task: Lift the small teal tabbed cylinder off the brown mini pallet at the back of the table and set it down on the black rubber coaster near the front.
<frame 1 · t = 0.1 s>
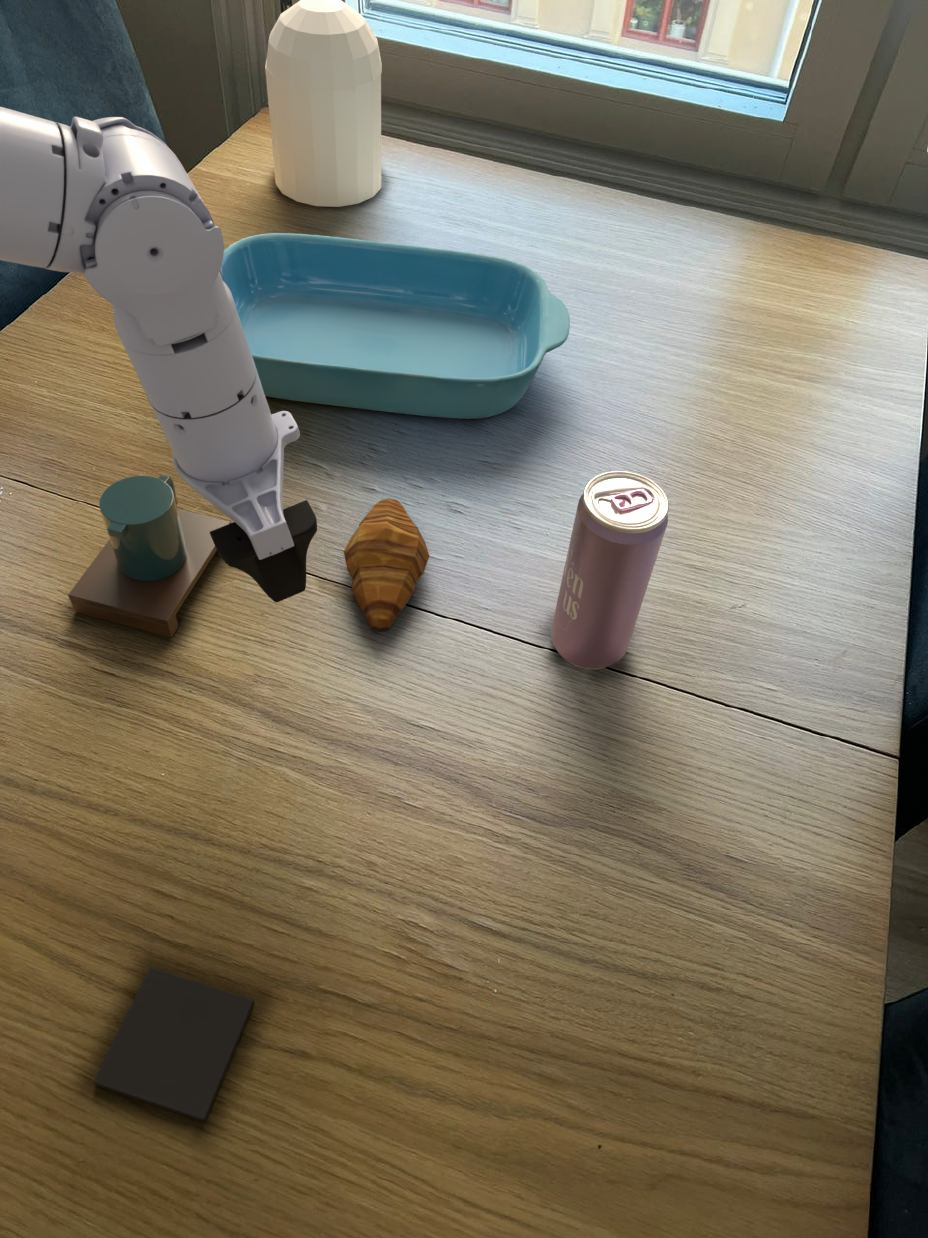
hand: (268, 551, 59), 12 cm above the table, tool pointing down, fingers open, 7 cm apart
teal tabbed cylinder: (152, 556, 72), point 2 cm above the table, touching brown mini pallet
croissant: (386, 574, 75), on the table
container: (329, 182, 117), on the table
coaster: (177, 1042, 52), on the table
beverage can: (587, 644, 72), on the table
brown mini pallet: (157, 574, 74), on the table
casserole dish: (377, 362, 94), on the table
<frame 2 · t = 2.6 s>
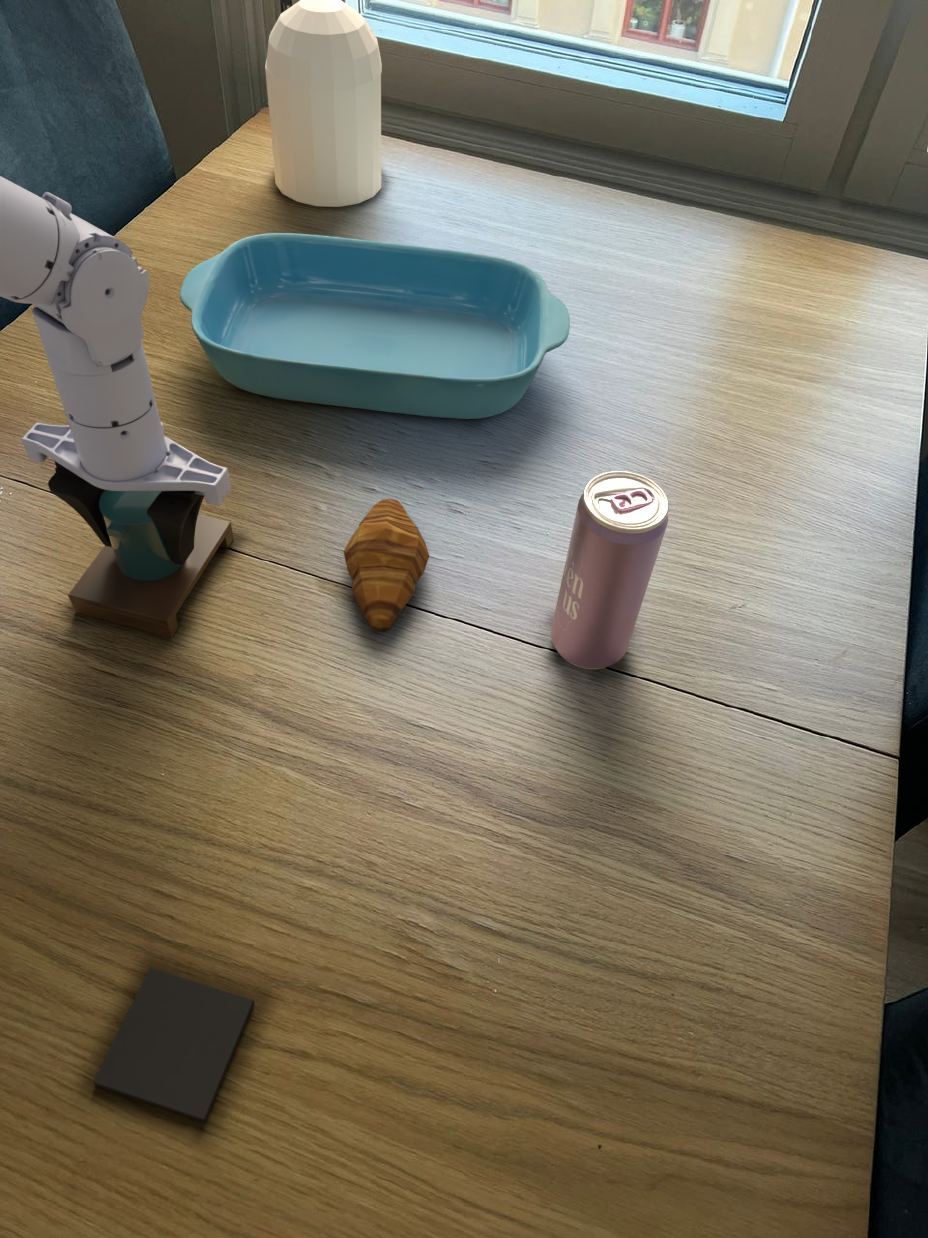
hand: (150, 546, 71), 3 cm above the table, tool pointing down, fingers closed on teal tabbed cylinder, 5 cm apart
teal tabbed cylinder: (152, 556, 72), point 2 cm above the table, touching gripper, brown mini pallet
everything else where it was.
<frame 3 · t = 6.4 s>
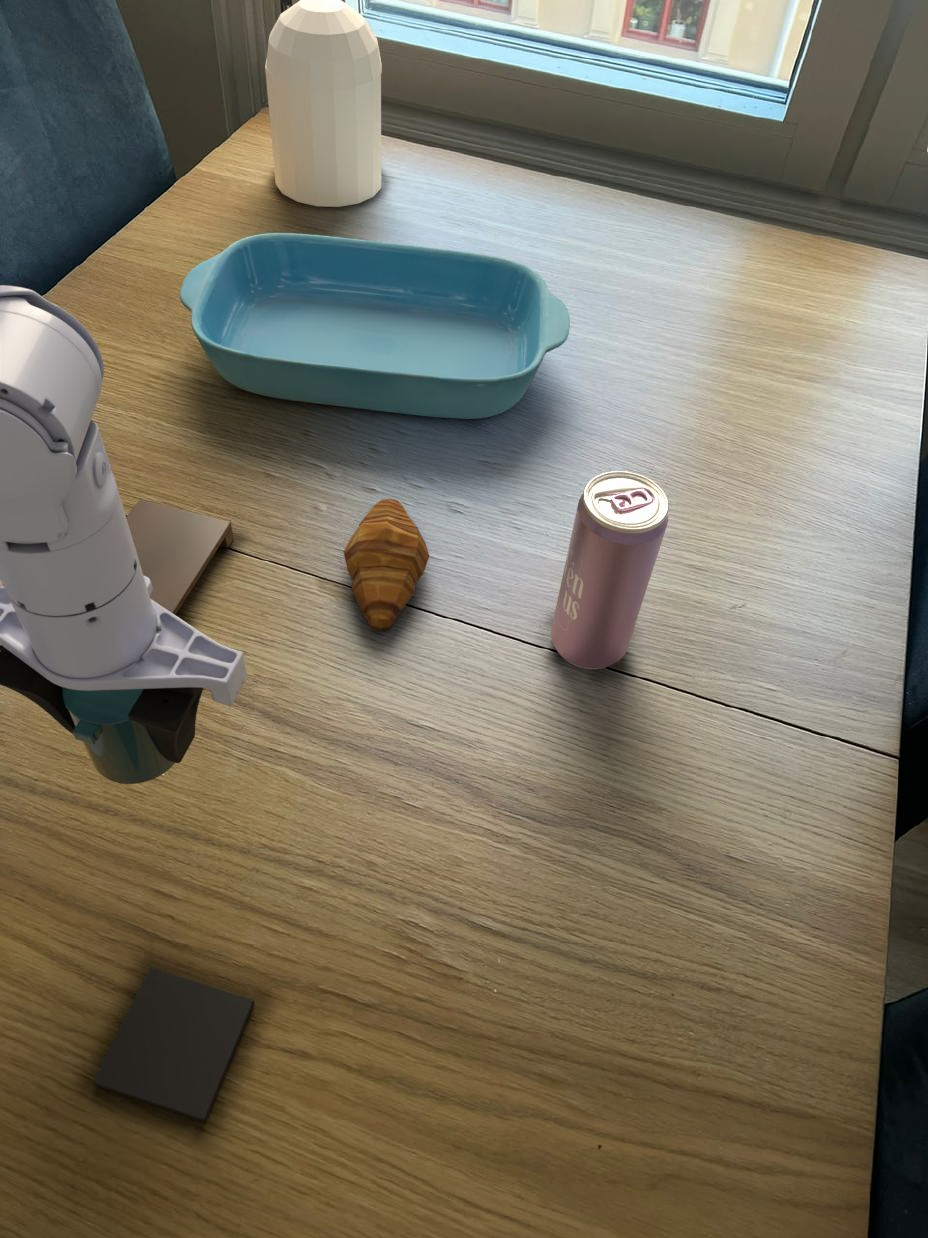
hand: (134, 734, 52), 10 cm above the table, tool pointing down, fingers closed on teal tabbed cylinder, 5 cm apart
teal tabbed cylinder: (138, 744, 53), point 9 cm above the table, touching gripper
everything else where it was.
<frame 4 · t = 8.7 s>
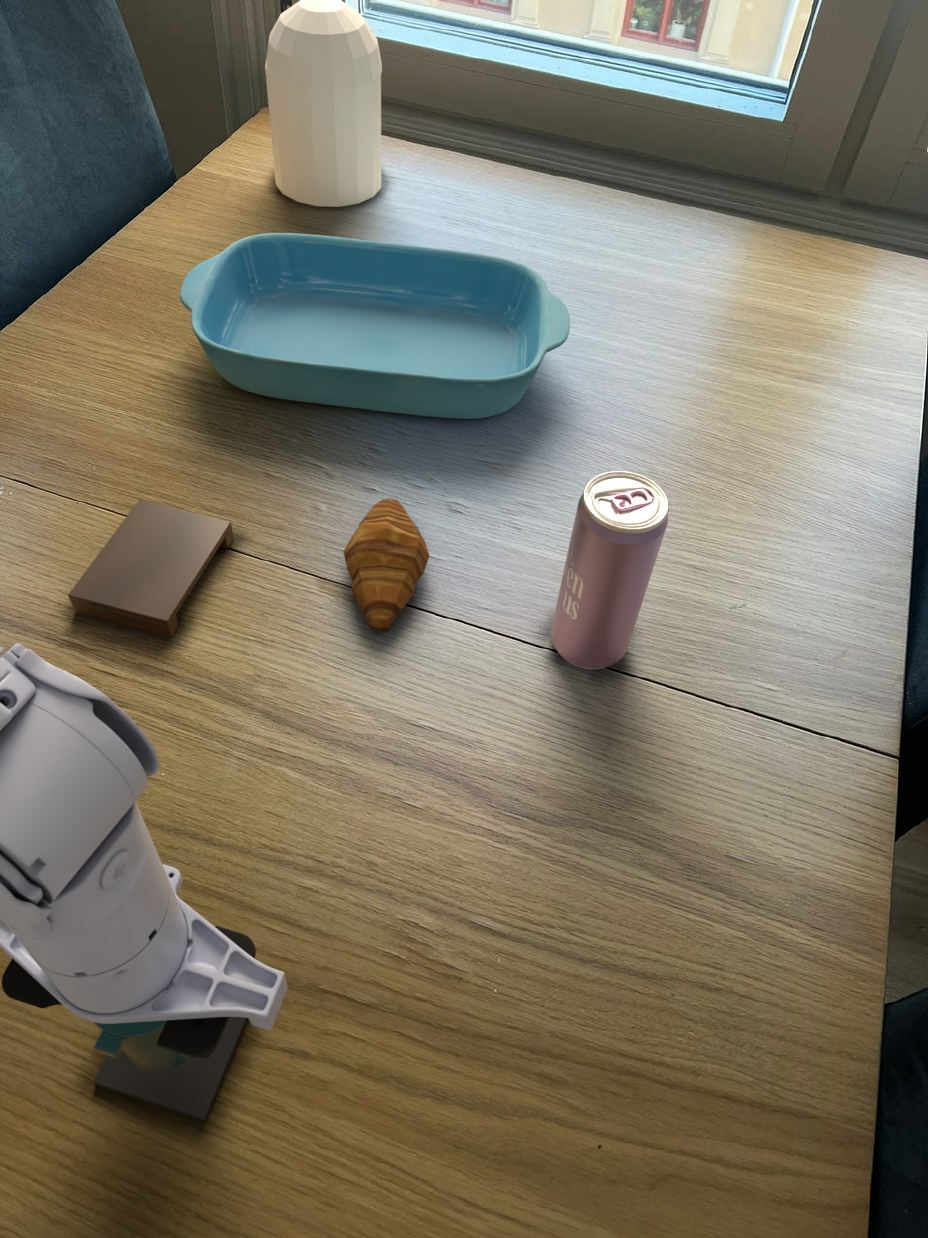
hand: (159, 1013, 48), 5 cm above the table, tool pointing down, fingers closed on teal tabbed cylinder, 5 cm apart
teal tabbed cylinder: (163, 1018, 49), point 4 cm above the table, touching gripper
everything else where it was.
when the fingers open (2 cm above the table, at t = 10.2 s): teal tabbed cylinder stays where it is, resting on coaster.
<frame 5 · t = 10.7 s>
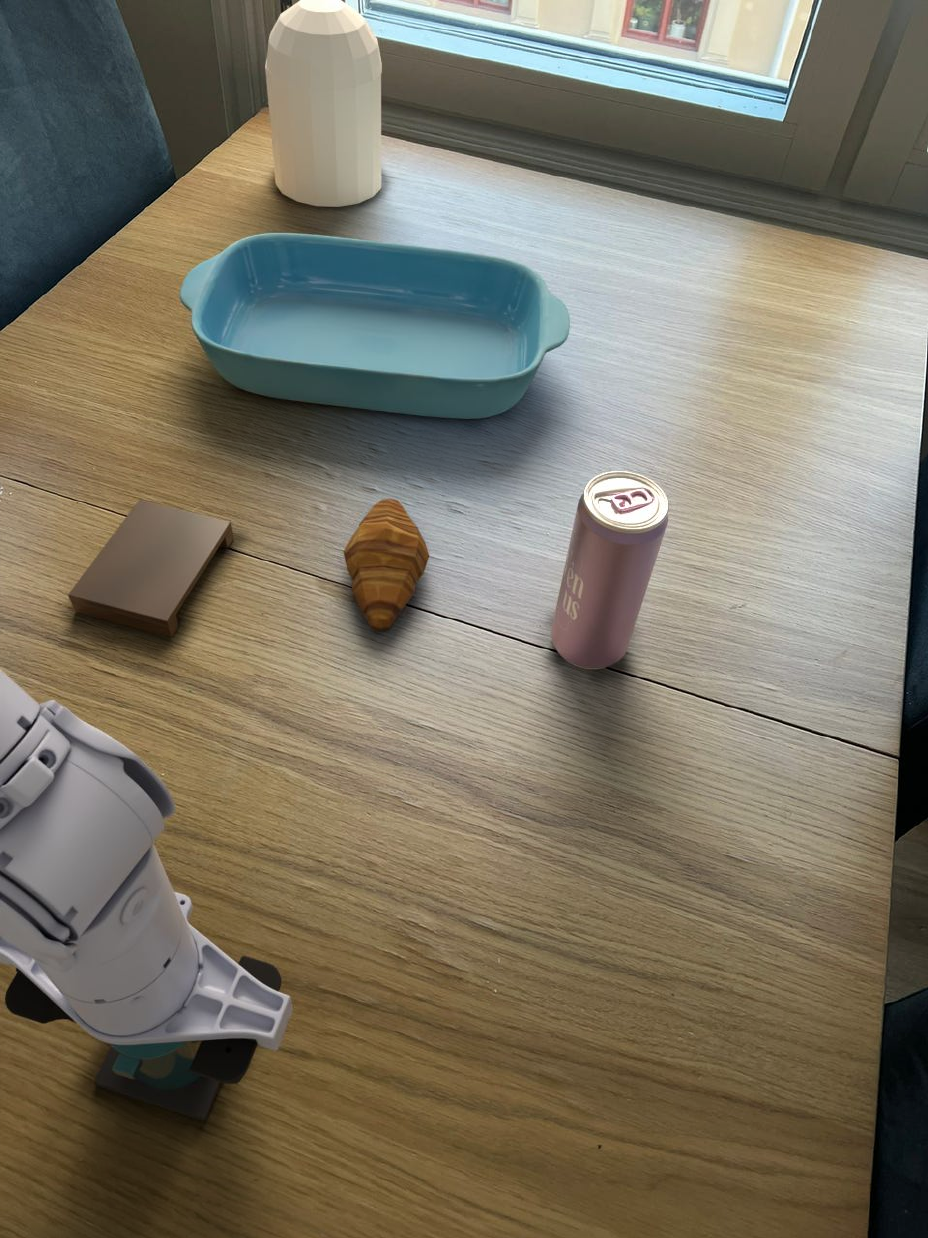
hand: (170, 1031, 50), 2 cm above the table, tool pointing down, fingers open, 7 cm apart
teal tabbed cylinder: (175, 1039, 51), resting on coaster
everything else where it was.
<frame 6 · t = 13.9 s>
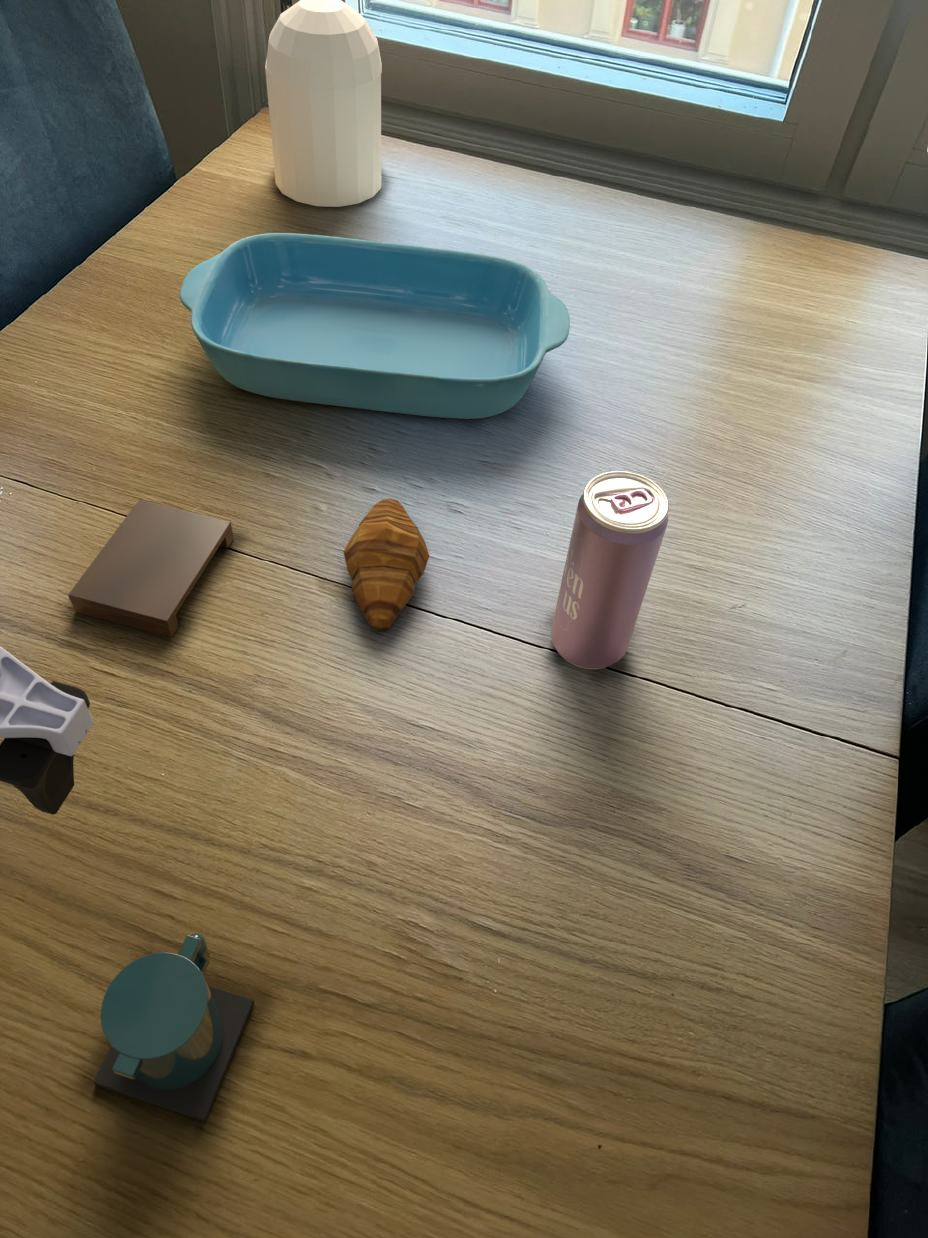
nothing on the table moved.
at the end: teal tabbed cylinder 0.0 cm off-centre on the coaster, point 0.5 cm above the coaster's base; teal tabbed cylinder tilted 0°; teal tabbed cylinder touching coaster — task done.
